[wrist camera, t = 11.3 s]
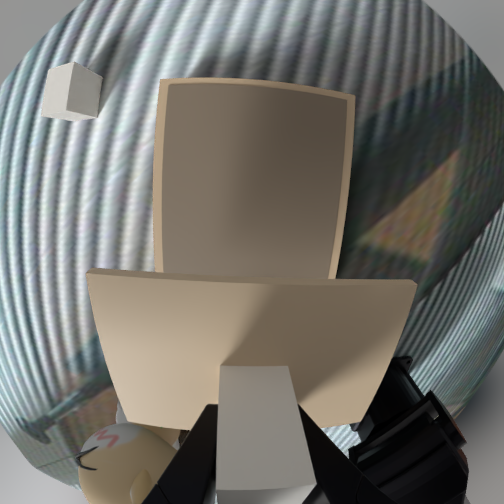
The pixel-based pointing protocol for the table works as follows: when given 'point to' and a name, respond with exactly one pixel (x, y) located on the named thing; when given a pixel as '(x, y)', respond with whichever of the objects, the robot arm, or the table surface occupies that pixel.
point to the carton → (250, 177)
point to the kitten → (125, 460)
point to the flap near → (248, 362)
